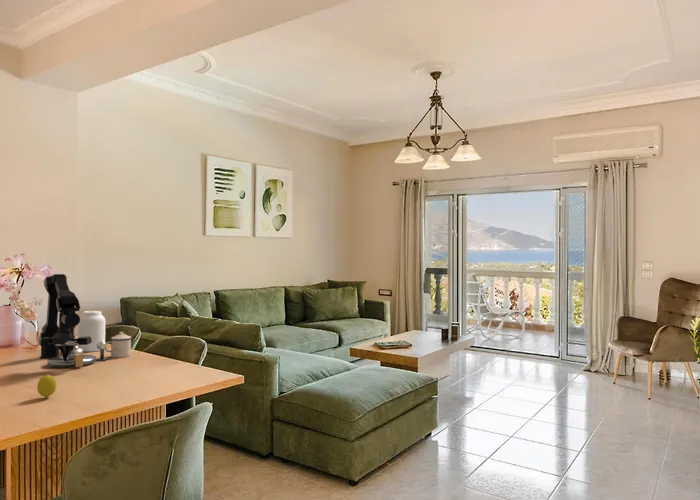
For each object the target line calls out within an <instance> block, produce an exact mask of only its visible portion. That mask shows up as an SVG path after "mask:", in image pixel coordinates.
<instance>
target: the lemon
mask: <svg viewBox="0 0 700 500" xmlns="http://www.w3.org/2000/svg"><path fill="white" fill-rule="evenodd" d="M36 387H37V392H38V394H39V395H40V396H41V397H44V398H45V399H47V398H49V397H51V396H52V395H53V394H55V392H56V389H57V381H56V379H55V377H54V376H53V375H50V374H49V373H46V374H44V375H43V376H41V378H39V381H38V382H37V386H36Z"/></svg>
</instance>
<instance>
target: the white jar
mask: <svg viewBox="0 0 700 500" xmlns="http://www.w3.org/2000/svg"><path fill="white" fill-rule="evenodd" d="M79 317H80V322H79V324H78V325H77V328H78V329H77V339H78V338H79V337H88V336H90V337H91V339H92V343H90V344H87V345H77V346H78V348H82V349H83V353H93V352H94V353H95V352H100V350H99V349H98V348H97V344H98V343H99V342H104V343H106V318H105V316H103V314H102V311H101V310H87V311H86V310H85V311H83V312H82V315H81V316H79Z"/></svg>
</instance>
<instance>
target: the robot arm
mask: <svg viewBox="0 0 700 500" xmlns="http://www.w3.org/2000/svg"><path fill="white" fill-rule="evenodd" d="M66 275H67V274H64V273H58V274H57V273H55V274H52V275H49V276H46V277H45V278H44V280H43V287H44V288H45V291H46V292H47V294H48V296H47V298H48V299H47V309H46V320H45V321H46V322H45V324H44V325H43V327H41V332H40V333H39V337H38V346H40V348H41V349H40V357H39V359H51V358H54V357H59V356H60V354H61V356H63V359H64V361H68V358H69V356H70V354H71V352H72V350H73V348H74V347H75V346H78V345H87V344H90V343H92V339H91V337H90V336H88V337H79V338H78V337H77V338H76V335H75V329H76V327H78V324H79V322H80V317H81V316H80V315H79V314H78V313H76V312H79V311H80V309H81V304H80V302H79V299H78V297H77V295H76V294H75V293H74V292H73V291H71V290H70V287H69V286H68V278H67V276H66Z"/></svg>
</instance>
